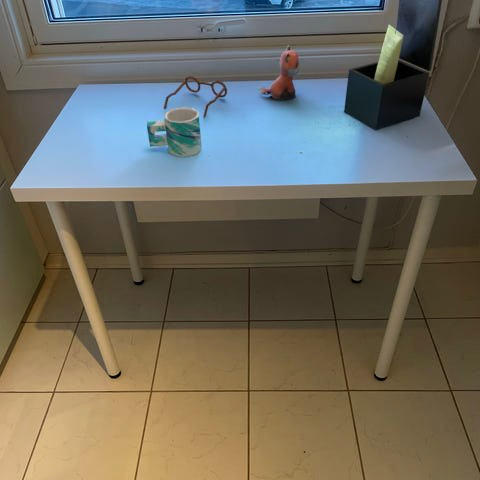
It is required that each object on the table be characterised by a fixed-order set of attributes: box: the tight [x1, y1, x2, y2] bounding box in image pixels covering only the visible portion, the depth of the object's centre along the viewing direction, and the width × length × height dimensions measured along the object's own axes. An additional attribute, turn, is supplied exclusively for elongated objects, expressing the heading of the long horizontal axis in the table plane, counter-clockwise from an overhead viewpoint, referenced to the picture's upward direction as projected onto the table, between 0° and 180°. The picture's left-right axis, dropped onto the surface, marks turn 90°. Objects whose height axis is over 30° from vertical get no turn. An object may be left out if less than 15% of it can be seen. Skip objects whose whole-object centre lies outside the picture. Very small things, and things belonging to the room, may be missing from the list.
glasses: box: [163, 75, 228, 118], centre depth 141 cm, size 13×13×5 cm
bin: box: [343, 59, 430, 131], centre depth 131 cm, size 15×13×11 cm
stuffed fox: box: [257, 44, 301, 101], centre depth 141 cm, size 8×11×12 cm
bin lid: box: [395, 0, 443, 72], centre depth 125 cm, size 15×13×5 cm
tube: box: [374, 24, 404, 84], centre depth 127 cm, size 6×5×20 cm
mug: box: [146, 106, 203, 158], centre depth 122 cm, size 8×12×8 cm
